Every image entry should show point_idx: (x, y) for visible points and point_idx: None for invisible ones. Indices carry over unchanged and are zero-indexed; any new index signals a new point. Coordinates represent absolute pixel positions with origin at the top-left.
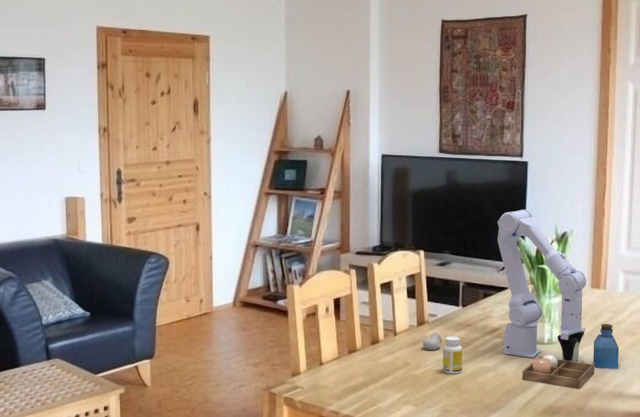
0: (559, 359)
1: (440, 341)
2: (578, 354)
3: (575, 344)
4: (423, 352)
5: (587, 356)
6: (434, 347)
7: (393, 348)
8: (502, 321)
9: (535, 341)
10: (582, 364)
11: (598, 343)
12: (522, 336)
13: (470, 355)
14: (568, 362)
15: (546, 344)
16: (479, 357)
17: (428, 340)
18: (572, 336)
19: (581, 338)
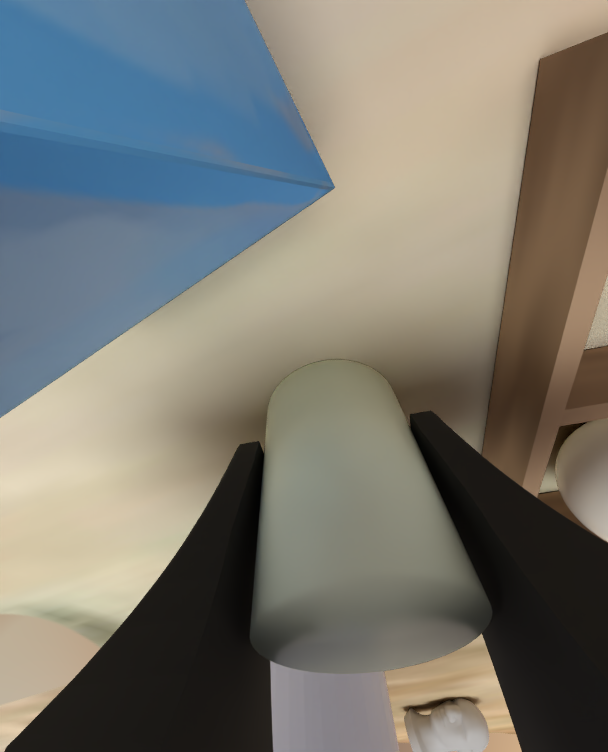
0: (525, 472)
1: (415, 725)
2: (322, 426)
3: (443, 570)
4: (499, 698)
5: (37, 409)
6: (474, 712)
7: (494, 720)
8: (18, 731)
9: (316, 681)
10: (605, 239)
11: (209, 125)
12: (397, 750)
13: (468, 659)
14: (558, 392)
15: (91, 614)
16: (479, 644)
17: (486, 746)
18: (241, 728)
19: (117, 647)
